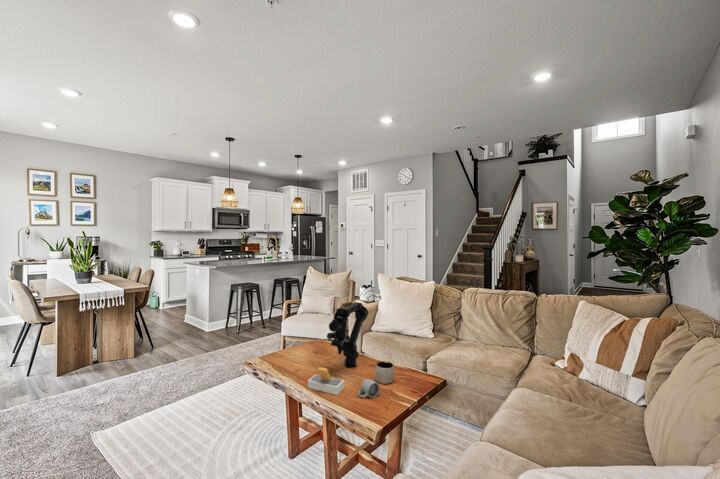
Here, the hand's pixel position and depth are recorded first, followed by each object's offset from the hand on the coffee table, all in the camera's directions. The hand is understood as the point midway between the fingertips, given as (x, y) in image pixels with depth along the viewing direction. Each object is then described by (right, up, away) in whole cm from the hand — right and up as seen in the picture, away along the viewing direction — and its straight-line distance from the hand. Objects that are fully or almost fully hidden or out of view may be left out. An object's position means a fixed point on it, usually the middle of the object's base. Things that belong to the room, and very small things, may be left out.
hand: (339, 354), depth 203 cm
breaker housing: (-6, -12, -20) cm, 24 cm away
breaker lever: (-6, -7, -20) cm, 22 cm away
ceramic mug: (+17, -13, -26) cm, 33 cm away
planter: (+27, -13, -7) cm, 31 cm away
